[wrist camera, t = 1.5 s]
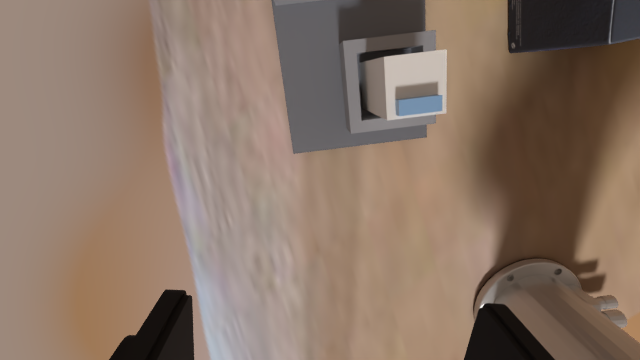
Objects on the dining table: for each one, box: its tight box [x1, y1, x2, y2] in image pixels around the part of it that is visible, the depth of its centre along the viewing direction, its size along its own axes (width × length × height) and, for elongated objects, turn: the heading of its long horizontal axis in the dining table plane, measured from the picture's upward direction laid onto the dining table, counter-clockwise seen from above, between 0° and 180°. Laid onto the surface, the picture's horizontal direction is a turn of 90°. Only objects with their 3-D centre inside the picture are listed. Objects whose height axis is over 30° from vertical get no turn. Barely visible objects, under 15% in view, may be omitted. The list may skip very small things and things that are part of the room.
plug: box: [360, 49, 447, 120], centre depth 25 cm, size 4×4×10 cm
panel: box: [272, 0, 436, 154], centre depth 27 cm, size 13×22×4 cm, turn 6°
